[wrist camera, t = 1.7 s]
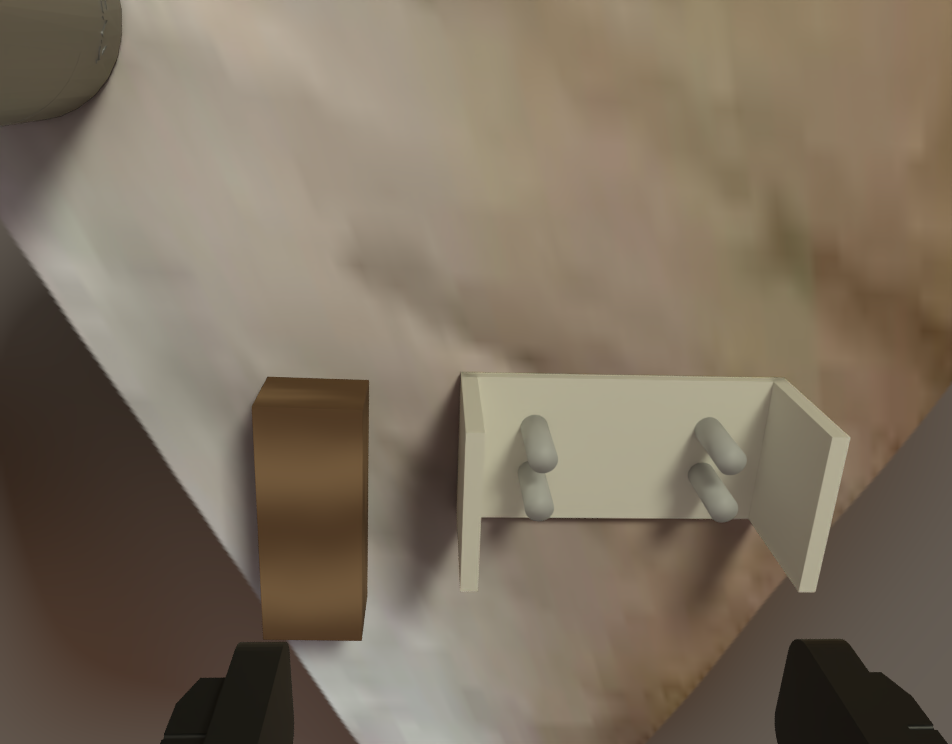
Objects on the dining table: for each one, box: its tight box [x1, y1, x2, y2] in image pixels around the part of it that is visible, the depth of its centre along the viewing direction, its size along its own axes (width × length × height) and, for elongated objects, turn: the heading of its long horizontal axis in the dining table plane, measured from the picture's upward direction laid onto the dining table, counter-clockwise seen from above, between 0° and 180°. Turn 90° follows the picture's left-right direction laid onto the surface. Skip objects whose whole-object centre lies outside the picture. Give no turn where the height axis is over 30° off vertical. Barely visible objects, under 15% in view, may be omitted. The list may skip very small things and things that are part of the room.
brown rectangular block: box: [252, 377, 369, 641], centre depth 41 cm, size 13×5×4 cm, turn 177°
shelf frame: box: [456, 372, 850, 592], centre depth 39 cm, size 17×8×7 cm, turn 88°
